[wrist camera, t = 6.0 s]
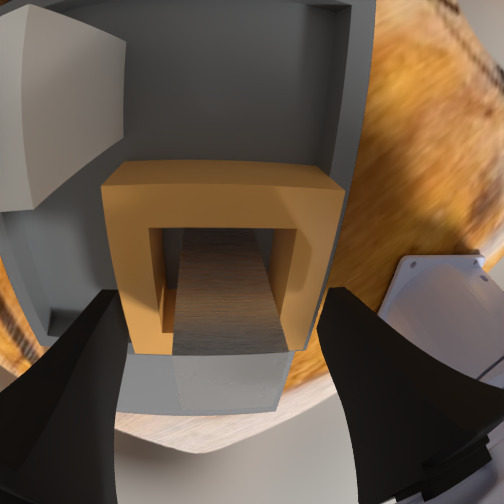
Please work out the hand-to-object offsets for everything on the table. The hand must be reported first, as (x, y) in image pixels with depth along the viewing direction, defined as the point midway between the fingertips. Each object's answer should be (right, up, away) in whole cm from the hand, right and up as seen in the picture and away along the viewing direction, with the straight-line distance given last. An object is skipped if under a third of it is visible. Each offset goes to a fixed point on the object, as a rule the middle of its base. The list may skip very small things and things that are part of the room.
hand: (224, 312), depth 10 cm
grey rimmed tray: (-3, +5, +2) cm, 7 cm away
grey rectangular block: (-1, +2, +4) cm, 4 cm away
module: (-6, +8, -1) cm, 10 cm away
